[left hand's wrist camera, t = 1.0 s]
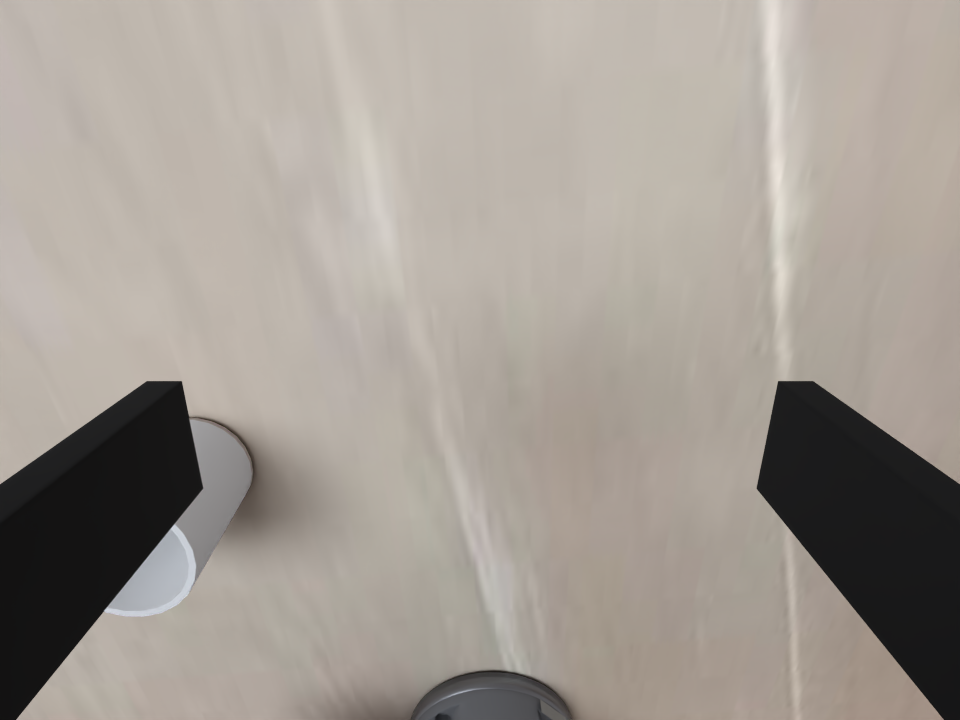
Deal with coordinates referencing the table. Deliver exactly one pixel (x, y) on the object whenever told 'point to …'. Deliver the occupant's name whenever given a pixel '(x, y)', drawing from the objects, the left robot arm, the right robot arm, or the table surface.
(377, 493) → the table surface
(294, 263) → the table surface
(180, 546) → the mug
